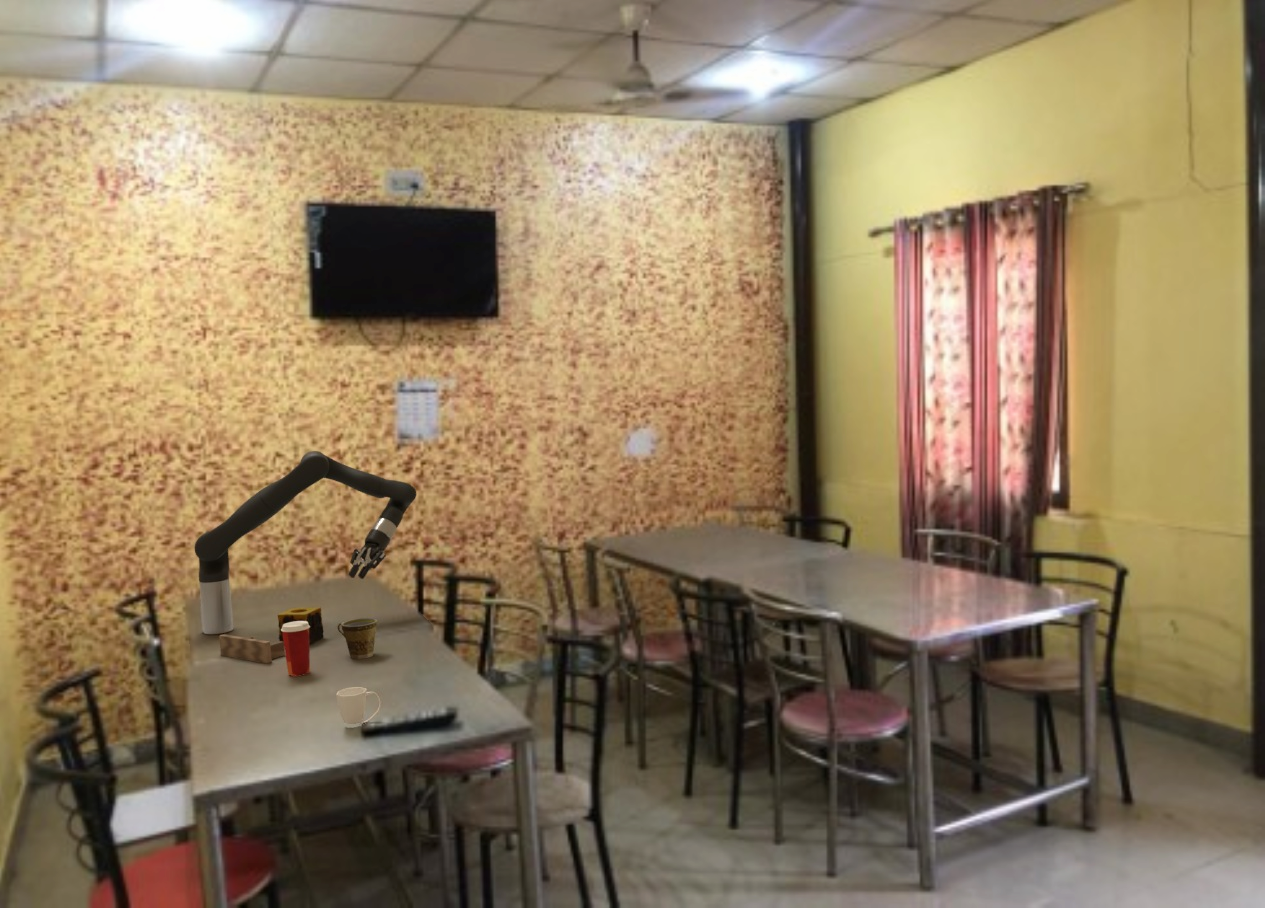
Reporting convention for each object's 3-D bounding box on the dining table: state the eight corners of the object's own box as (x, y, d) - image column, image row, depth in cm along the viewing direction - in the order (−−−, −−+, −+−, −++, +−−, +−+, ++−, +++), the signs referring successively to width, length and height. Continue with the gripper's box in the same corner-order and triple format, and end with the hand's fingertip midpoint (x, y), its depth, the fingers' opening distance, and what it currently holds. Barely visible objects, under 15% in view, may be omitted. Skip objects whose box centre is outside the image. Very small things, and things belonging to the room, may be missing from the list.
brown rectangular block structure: (220, 655, 311) (219, 635, 311) (245, 648, 318) (243, 629, 318) (267, 663, 299) (265, 642, 299) (291, 655, 306) (289, 635, 306)
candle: (308, 646, 317) (306, 614, 316) (278, 646, 319) (275, 614, 318) (324, 637, 327) (322, 606, 326) (295, 638, 329) (293, 607, 328)
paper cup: (319, 670, 289) (315, 620, 288) (302, 678, 282) (298, 627, 281) (295, 668, 291) (291, 619, 290) (278, 676, 284) (274, 626, 283)
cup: (335, 724, 241) (332, 690, 241) (378, 715, 246) (375, 682, 245) (342, 732, 235) (339, 698, 234) (385, 723, 240) (383, 689, 239)
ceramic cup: (386, 652, 304) (383, 618, 303) (364, 661, 295) (361, 627, 294) (351, 649, 310) (348, 616, 309) (328, 658, 301) (325, 624, 300)
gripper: (359, 527, 351) (334, 569, 342) (389, 528, 343) (363, 571, 334) (372, 540, 356) (347, 582, 347) (402, 542, 348) (377, 584, 339)
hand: (355, 576), depth 340 cm, fingers open, 4 cm apart
